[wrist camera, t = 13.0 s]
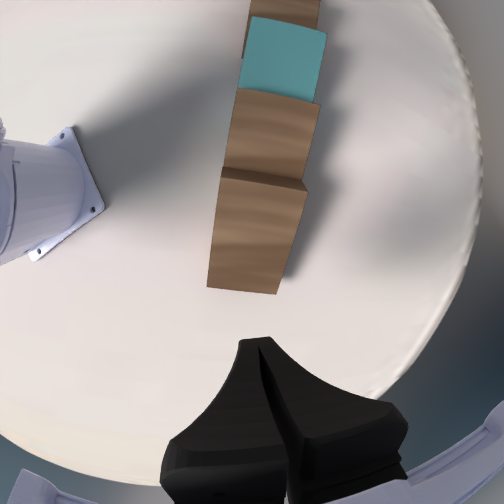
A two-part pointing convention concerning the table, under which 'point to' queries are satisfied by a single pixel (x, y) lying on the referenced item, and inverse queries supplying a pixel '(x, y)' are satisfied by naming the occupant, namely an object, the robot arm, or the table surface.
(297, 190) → the domino
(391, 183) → the table surface
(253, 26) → the domino
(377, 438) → the robot arm
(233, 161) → the domino
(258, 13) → the domino
